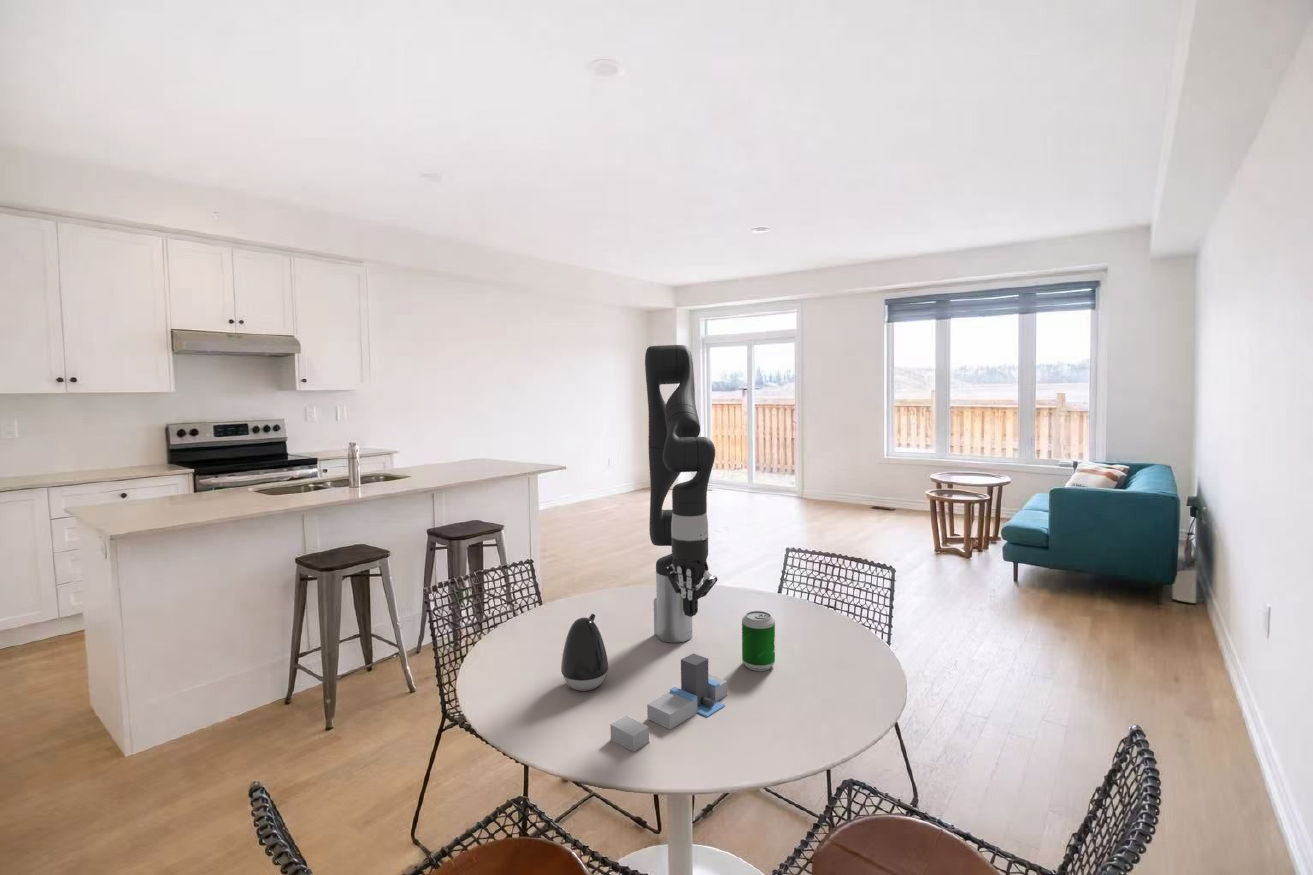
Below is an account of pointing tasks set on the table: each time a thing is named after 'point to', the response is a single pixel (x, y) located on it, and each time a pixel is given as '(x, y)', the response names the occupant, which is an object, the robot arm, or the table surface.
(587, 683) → the black egg-shaped body
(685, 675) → the dark grey bar
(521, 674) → the table surface
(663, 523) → the robot arm
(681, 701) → the blue-tipped block chain
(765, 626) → the soda can
